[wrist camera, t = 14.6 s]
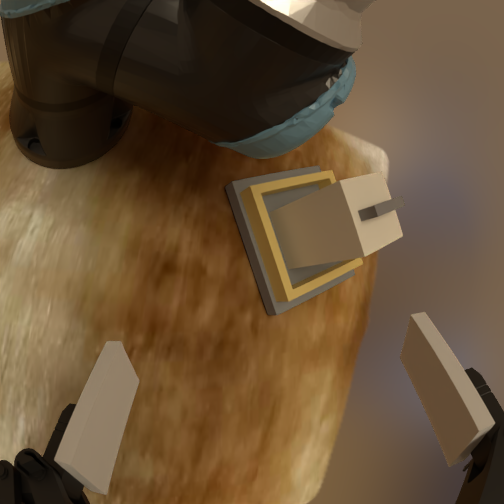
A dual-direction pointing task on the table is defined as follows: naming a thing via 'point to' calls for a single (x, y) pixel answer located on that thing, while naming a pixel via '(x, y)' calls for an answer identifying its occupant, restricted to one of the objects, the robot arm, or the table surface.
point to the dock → (266, 241)
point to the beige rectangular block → (338, 222)
